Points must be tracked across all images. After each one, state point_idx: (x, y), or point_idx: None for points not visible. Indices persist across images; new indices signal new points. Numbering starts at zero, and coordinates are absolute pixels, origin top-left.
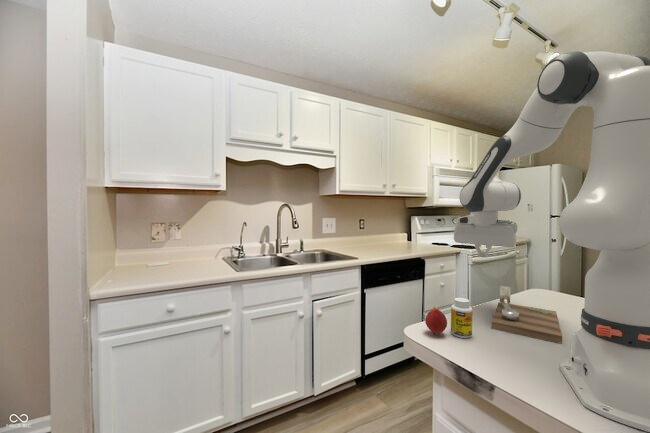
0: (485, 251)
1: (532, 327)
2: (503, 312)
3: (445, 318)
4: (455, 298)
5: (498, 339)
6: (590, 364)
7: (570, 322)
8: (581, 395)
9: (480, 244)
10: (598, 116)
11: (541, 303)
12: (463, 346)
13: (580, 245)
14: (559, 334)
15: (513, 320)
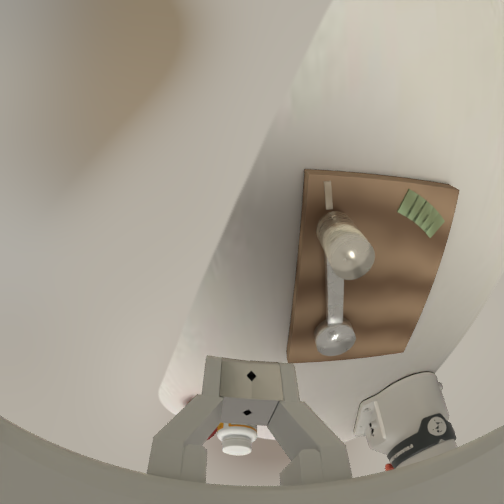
0: (275, 436)
1: (367, 345)
2: (318, 350)
3: (215, 430)
4: (223, 450)
5: (298, 381)
6: (372, 445)
7: (463, 210)
8: (356, 432)
9: (205, 477)
10: None
11: (433, 45)
12: None
13: None
14: (402, 348)
15: None
